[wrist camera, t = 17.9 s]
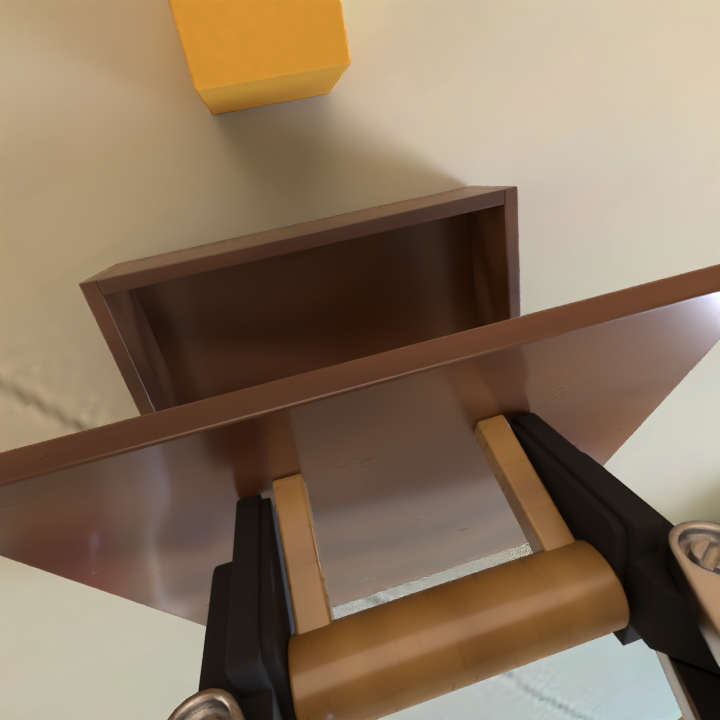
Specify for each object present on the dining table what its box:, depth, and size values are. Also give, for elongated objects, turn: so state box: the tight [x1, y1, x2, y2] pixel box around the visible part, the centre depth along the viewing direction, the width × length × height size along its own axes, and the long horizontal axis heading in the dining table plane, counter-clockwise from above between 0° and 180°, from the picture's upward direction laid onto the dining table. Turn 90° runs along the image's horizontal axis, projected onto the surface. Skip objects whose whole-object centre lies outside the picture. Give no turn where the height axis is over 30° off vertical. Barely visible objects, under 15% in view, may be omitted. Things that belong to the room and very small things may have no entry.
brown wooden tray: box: [79, 186, 521, 416], centre depth 22 cm, size 19×17×4 cm
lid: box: [0, 264, 720, 720], centre depth 15 cm, size 20×17×5 cm
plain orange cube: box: [168, 0, 351, 115], centre depth 15 cm, size 5×5×5 cm
